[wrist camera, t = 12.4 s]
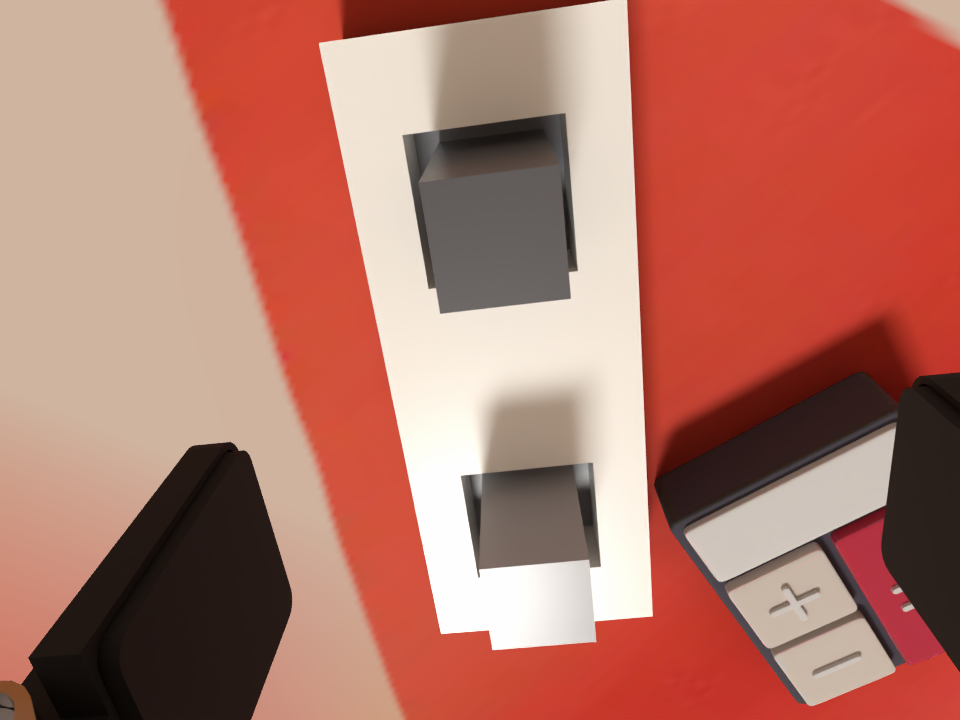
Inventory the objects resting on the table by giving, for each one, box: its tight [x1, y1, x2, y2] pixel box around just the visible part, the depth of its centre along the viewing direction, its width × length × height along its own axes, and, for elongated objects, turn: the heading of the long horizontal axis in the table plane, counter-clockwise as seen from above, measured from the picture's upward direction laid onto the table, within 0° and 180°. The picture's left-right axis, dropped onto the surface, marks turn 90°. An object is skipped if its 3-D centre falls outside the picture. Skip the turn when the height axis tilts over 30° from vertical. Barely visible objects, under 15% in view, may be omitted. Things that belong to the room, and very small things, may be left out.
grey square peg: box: [479, 465, 596, 650], centre depth 30 cm, size 4×4×8 cm
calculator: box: [654, 372, 945, 706], centre depth 35 cm, size 11×4×15 cm
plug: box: [419, 129, 571, 314], centre depth 24 cm, size 4×4×8 cm
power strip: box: [319, 0, 653, 634], centre depth 30 cm, size 10×26×4 cm, turn 8°
